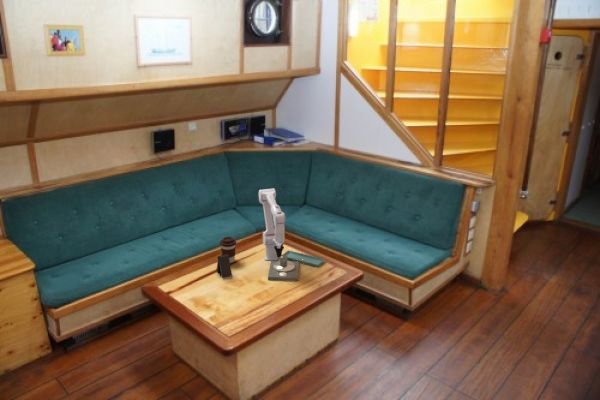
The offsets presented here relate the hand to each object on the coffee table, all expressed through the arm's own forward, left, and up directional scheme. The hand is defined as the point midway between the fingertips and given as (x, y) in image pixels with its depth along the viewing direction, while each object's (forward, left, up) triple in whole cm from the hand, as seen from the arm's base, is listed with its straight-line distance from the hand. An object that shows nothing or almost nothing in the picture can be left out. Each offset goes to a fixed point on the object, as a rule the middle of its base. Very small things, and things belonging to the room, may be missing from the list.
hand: (279, 253), depth 290 cm
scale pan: (+1, +3, -8) cm, 9 cm away
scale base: (+3, +3, -10) cm, 11 cm away
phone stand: (+7, -32, -11) cm, 35 cm away
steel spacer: (0, +2, -7) cm, 8 cm away
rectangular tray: (-13, +14, -11) cm, 22 cm away
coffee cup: (-9, -32, -11) cm, 35 cm away
